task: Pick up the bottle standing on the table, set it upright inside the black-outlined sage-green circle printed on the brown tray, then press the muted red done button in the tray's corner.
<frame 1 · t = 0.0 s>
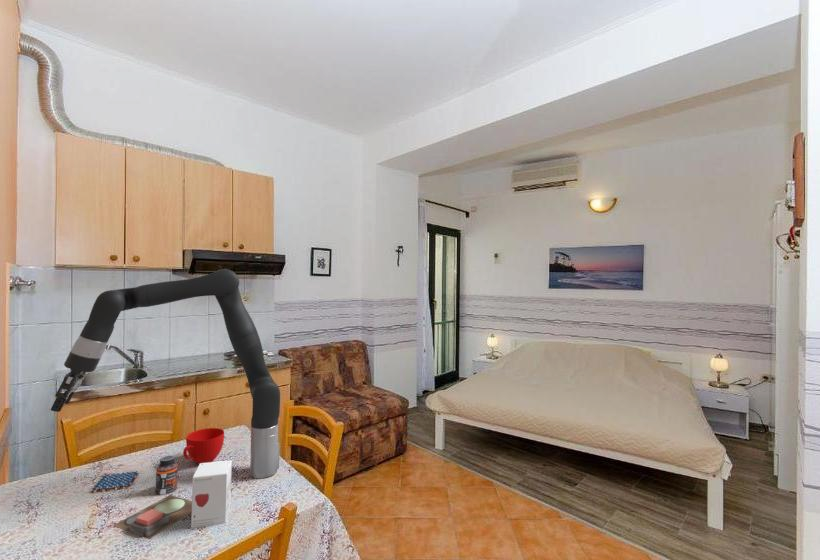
hand: (59, 406, 113), 31 cm above the table, tool tilted 20°, fingers open, 8 cm apart
ceramic cup: (201, 463, 147), on the table
supplement box: (211, 520, 112), on the table
supplement bottle: (166, 493, 126), on the table
brown tray: (160, 518, 112), on the table
woven mat: (116, 485, 131), on the table
done button: (149, 518, 107), point 3 cm above the table, slide at 0.0 cm
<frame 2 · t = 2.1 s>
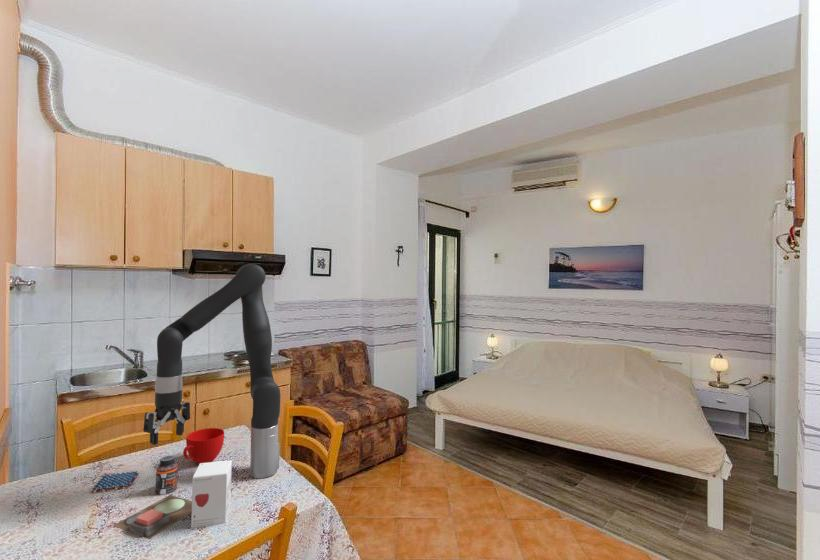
hand: (167, 439, 126), 17 cm above the table, tool pointing down, fingers open, 8 cm apart
nothing on the table moved.
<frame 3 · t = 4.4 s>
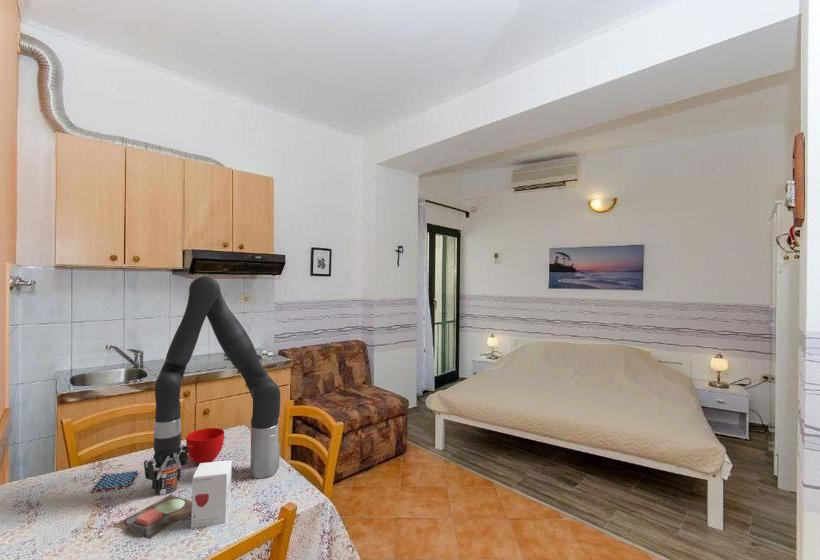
hand: (166, 485, 126), 3 cm above the table, tool pointing down, fingers closed on supplement bottle, 6 cm apart
supplement bottle: (166, 493, 126), on the table, touching gripper
everything else where it was.
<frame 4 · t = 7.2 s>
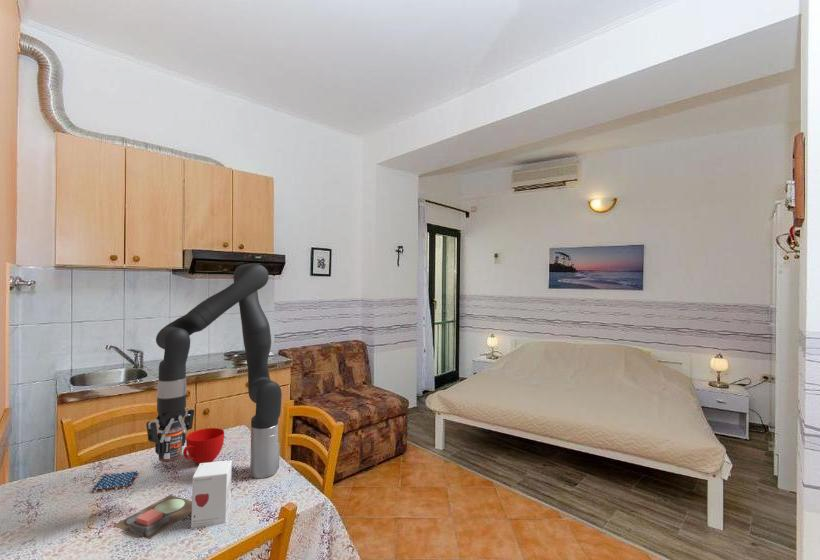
hand: (170, 449, 117), 18 cm above the table, tool pointing down, fingers closed on supplement bottle, 6 cm apart
supplement bottle: (170, 459, 117), point 15 cm above the table, touching gripper
everything else where it was.
when the fingers open (5 cm above the table, at t = 10.4 s): supplement bottle drops 1 cm, resting on brown tray.
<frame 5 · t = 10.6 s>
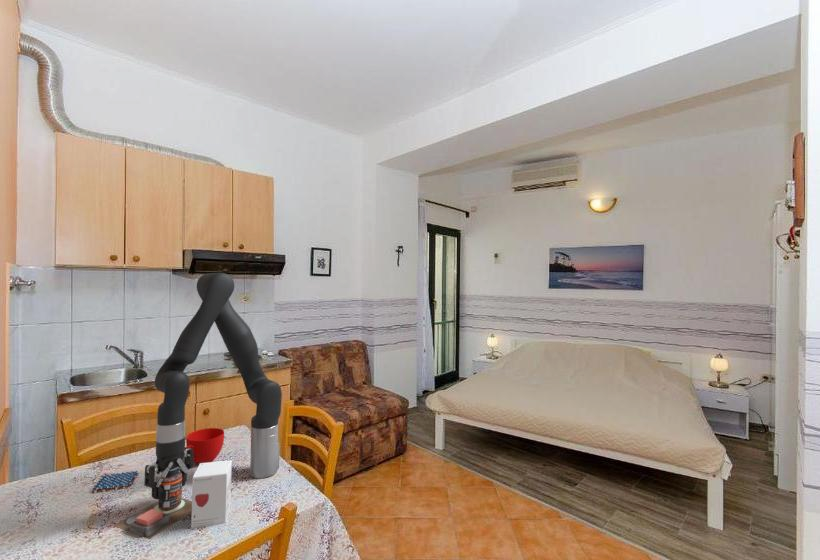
hand: (169, 491, 117), 5 cm above the table, tool pointing down, fingers open, 7 cm apart
supplement bottle: (170, 506, 117), point 1 cm above the table, touching brown tray
everything else where it was.
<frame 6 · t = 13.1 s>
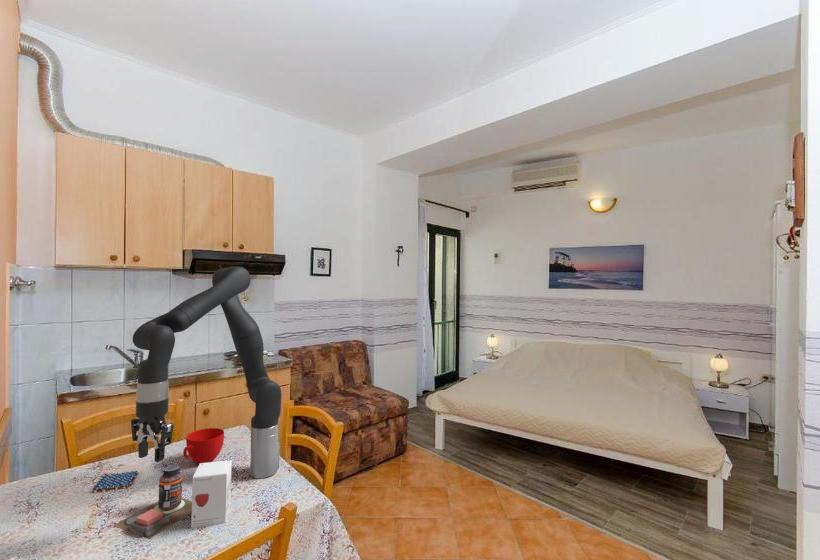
hand: (151, 458, 107), 20 cm above the table, tool pointing down, fingers open, 5 cm apart
nothing on the table moved.
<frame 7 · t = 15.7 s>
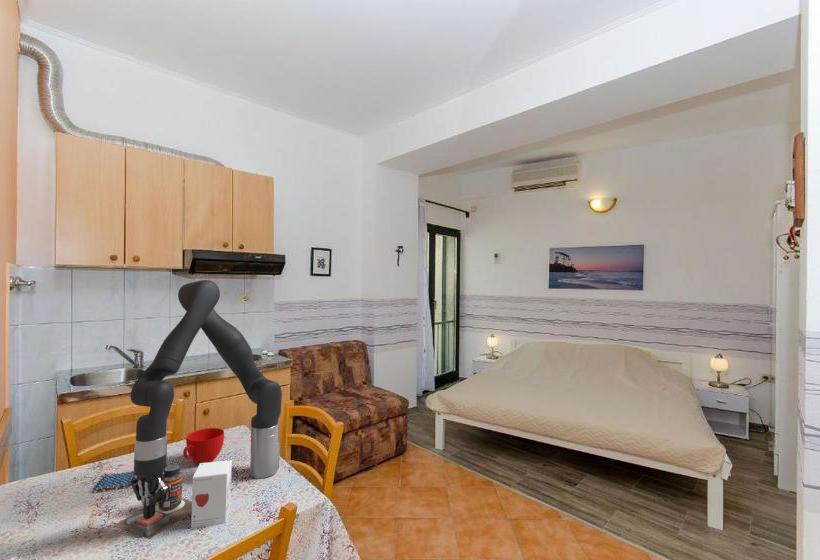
hand: (149, 516, 107), 4 cm above the table, tool pointing down, fingers closed
done button: (149, 520, 107), point 3 cm above the table, slide at 0.5 cm, touching gripper
everything else where it was.
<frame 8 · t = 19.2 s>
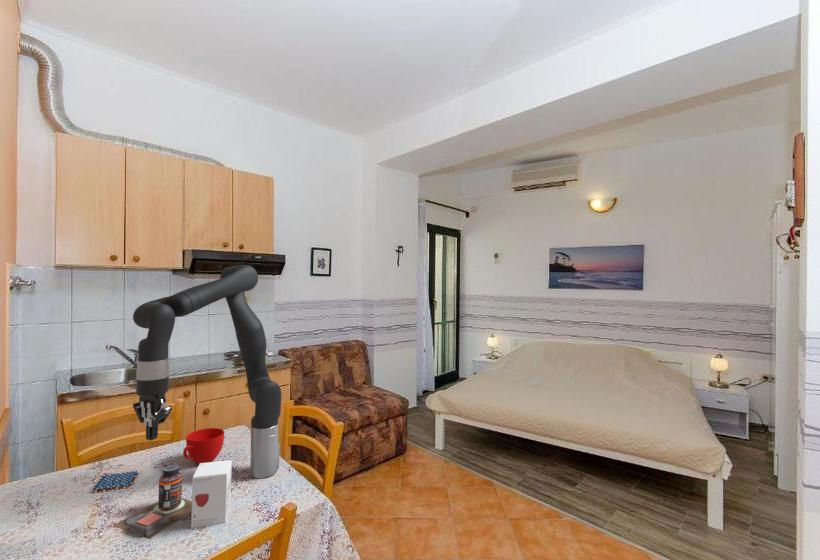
hand: (151, 438, 107), 25 cm above the table, tool pointing down, fingers closed
done button: (149, 522, 107), point 2 cm above the table, slide at 1.1 cm
everything else where it was.
at the end: supplement bottle 0.4 cm from the target spot, point 0.9 cm above the table; supplement bottle tilted 0°; done button slide at 1.1 cm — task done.
